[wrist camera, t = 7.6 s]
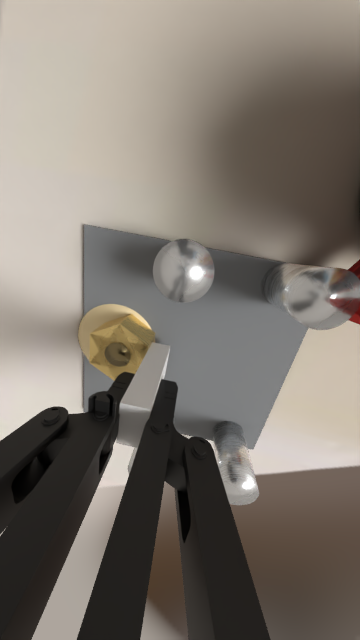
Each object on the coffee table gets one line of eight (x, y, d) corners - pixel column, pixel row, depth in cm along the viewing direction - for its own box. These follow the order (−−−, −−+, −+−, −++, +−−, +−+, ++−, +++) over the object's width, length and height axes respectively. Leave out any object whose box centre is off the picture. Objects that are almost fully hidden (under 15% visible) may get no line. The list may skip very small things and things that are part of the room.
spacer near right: (269, 259, 13) (308, 262, 8) (312, 267, 13) (376, 275, 8) (255, 300, 14) (284, 323, 9) (295, 308, 14) (344, 335, 9)
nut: (105, 308, 15) (89, 317, 13) (157, 318, 15) (150, 330, 13) (103, 360, 17) (88, 376, 15) (150, 370, 17) (142, 388, 15)
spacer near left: (172, 241, 13) (157, 233, 9) (213, 249, 13) (221, 245, 9) (165, 282, 14) (149, 296, 10) (204, 290, 14) (206, 307, 10)
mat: (80, 223, 14) (77, 222, 13) (329, 271, 13) (333, 271, 13) (81, 408, 20) (78, 411, 20) (252, 445, 19) (253, 449, 19)
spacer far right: (217, 418, 18) (223, 475, 14) (247, 425, 18) (264, 484, 13) (209, 439, 19) (213, 499, 15) (238, 446, 19) (251, 508, 14)
